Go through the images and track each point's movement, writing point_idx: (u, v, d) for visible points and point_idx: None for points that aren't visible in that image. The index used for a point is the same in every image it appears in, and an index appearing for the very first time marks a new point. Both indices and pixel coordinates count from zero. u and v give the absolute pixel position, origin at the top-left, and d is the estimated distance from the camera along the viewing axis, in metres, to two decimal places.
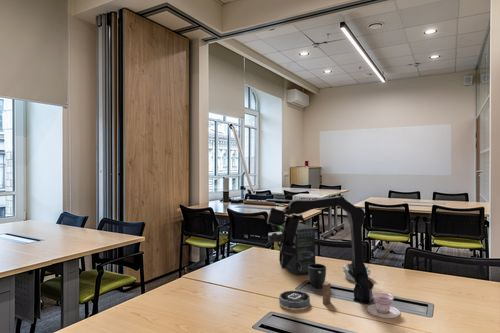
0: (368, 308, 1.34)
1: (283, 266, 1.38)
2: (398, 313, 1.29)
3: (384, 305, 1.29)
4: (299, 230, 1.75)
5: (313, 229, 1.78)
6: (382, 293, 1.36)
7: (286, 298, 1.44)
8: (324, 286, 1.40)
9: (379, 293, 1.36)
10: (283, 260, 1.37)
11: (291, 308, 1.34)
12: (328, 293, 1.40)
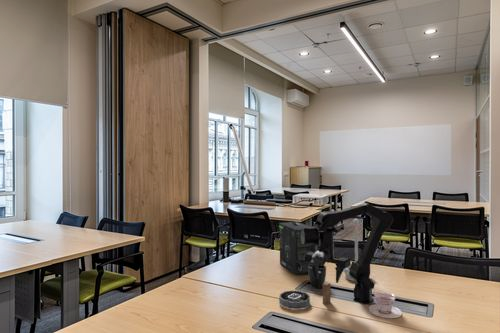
0: (370, 308, 1.34)
1: (337, 281, 1.38)
2: (400, 313, 1.29)
3: (386, 305, 1.29)
4: (299, 230, 1.75)
5: None
6: (384, 293, 1.35)
7: (286, 298, 1.44)
8: (324, 286, 1.40)
9: (381, 293, 1.36)
10: (339, 275, 1.36)
11: (291, 308, 1.34)
12: (328, 293, 1.40)
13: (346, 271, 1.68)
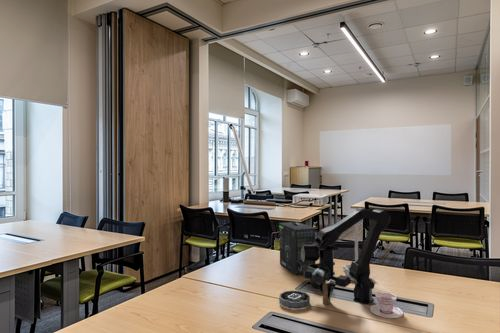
0: (371, 308, 1.34)
1: (329, 296, 1.40)
2: (401, 313, 1.29)
3: (387, 305, 1.29)
4: (299, 230, 1.75)
5: (313, 229, 1.78)
6: (385, 293, 1.36)
7: (286, 298, 1.44)
8: (324, 286, 1.40)
9: (382, 293, 1.36)
10: (331, 291, 1.39)
11: (291, 308, 1.34)
12: None
13: (346, 271, 1.68)
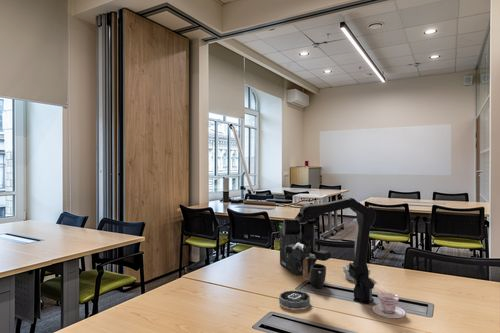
0: (373, 308, 1.34)
1: (309, 271, 1.39)
2: (404, 313, 1.29)
3: (390, 305, 1.29)
4: None
5: None
6: (387, 293, 1.35)
7: (286, 298, 1.44)
8: (304, 261, 1.39)
9: (384, 293, 1.36)
10: (311, 266, 1.38)
11: (291, 308, 1.34)
12: None
13: (346, 271, 1.68)
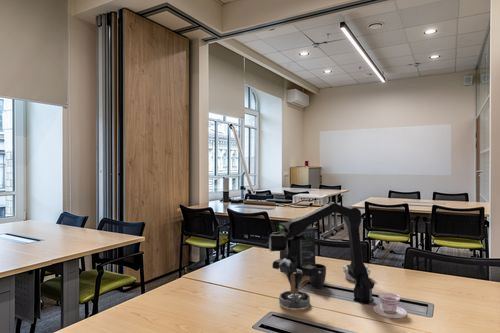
0: (374, 308, 1.34)
1: (297, 287, 1.39)
2: (405, 313, 1.29)
3: (391, 305, 1.29)
4: None
5: (313, 229, 1.78)
6: (388, 293, 1.35)
7: (286, 298, 1.44)
8: (292, 276, 1.39)
9: (385, 293, 1.36)
10: (298, 281, 1.38)
11: (291, 308, 1.34)
12: None
13: (346, 271, 1.68)
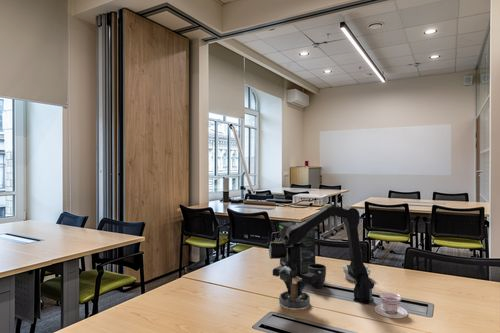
0: (375, 308, 1.34)
1: (299, 295, 1.39)
2: (406, 313, 1.29)
3: (392, 305, 1.29)
4: None
5: (313, 229, 1.78)
6: (389, 293, 1.35)
7: (286, 298, 1.44)
8: (292, 286, 1.39)
9: (386, 293, 1.36)
10: (300, 289, 1.37)
11: (291, 308, 1.34)
12: (296, 292, 1.39)
13: (346, 271, 1.68)
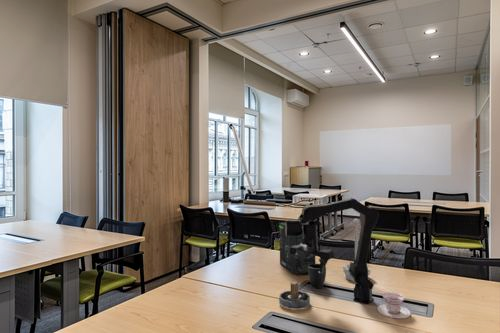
0: (378, 308, 1.34)
1: (321, 272, 1.40)
2: (409, 313, 1.29)
3: (395, 305, 1.29)
4: None
5: None
6: (392, 293, 1.35)
7: (286, 298, 1.44)
8: (292, 285, 1.39)
9: (389, 293, 1.35)
10: (322, 267, 1.39)
11: (291, 308, 1.34)
12: (296, 292, 1.39)
13: (346, 271, 1.68)
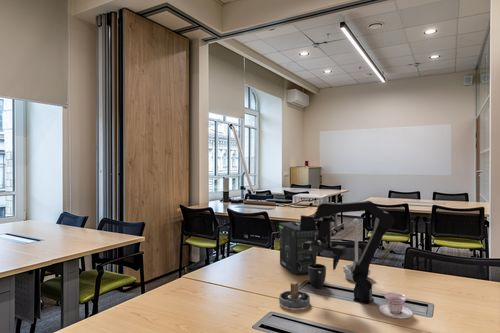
0: (380, 308, 1.34)
1: (334, 268, 1.43)
2: (411, 314, 1.29)
3: (396, 305, 1.29)
4: (299, 230, 1.75)
5: None
6: (394, 293, 1.35)
7: (286, 298, 1.44)
8: (292, 285, 1.39)
9: (391, 293, 1.35)
10: (336, 262, 1.41)
11: (291, 308, 1.34)
12: (296, 292, 1.39)
13: (346, 271, 1.68)
